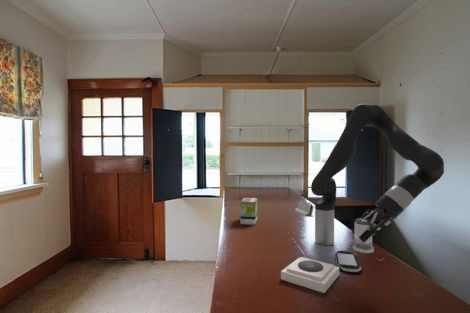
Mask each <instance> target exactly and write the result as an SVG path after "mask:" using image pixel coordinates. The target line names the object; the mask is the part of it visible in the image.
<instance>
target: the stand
mask: <svg viewBox="0 0 470 313" xmlns="http://www.w3.org/2000/svg"><path fill="white" fill-rule="evenodd" d="M339 276H340V269H339V267H337V265H336V266H335V265H334V264H331V263H327V262H323V261H320V260H316V259H311V258H308V257H303V256H300V257H298V258H297V259H295V260H294V261H293V262H292V263H290V264H288V265H286V267H284V268H283V269H282V270H281V271H280V280H282V281H286V282H288V283H291V284H294V285H298V286H301V287H305V288H308V289H310V290H314V291H316V292H319V293H322V294H324V293H326V292H327V290H328V289H329V288H330V287H331V285H333V283H334V282H335V281H336V280H337V278H338V277H339Z"/></svg>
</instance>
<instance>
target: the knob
mask: <svg viewBox="0 0 470 313" xmlns="http://www.w3.org/2000/svg"><path fill="white" fill-rule="evenodd" d="M370 222H371V220H369V219H364V218H361V217H359V218H355V221H354V223H353V224H354V227H353V228H354V229H353V230H354V234H353V235H354V243H353V244H352V249H353V251H355V252H357V253H362V254H373V253H374V252H375V249H374V248H375V247H374V246H373V235H372V236H371V237H370V238H369V239H368V240H367V241H366V242H363V241H361V240H360V239H359V236H360V235H361V234H362V233H363V232H365V231H366V230H367V229H368V227H369V226H370Z"/></svg>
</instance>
